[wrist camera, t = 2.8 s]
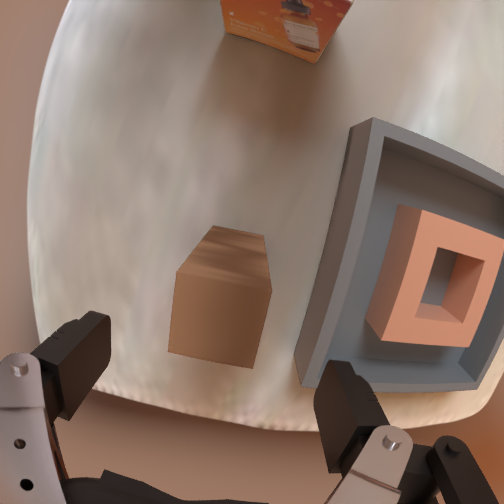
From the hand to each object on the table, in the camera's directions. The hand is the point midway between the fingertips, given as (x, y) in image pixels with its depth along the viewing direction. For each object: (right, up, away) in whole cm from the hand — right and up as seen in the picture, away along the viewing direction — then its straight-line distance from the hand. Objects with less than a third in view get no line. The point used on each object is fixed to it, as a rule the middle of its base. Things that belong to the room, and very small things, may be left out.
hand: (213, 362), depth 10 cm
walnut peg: (0, +4, +14) cm, 15 cm away
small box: (+4, +23, +10) cm, 25 cm away
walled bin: (+17, +2, +15) cm, 22 cm away
